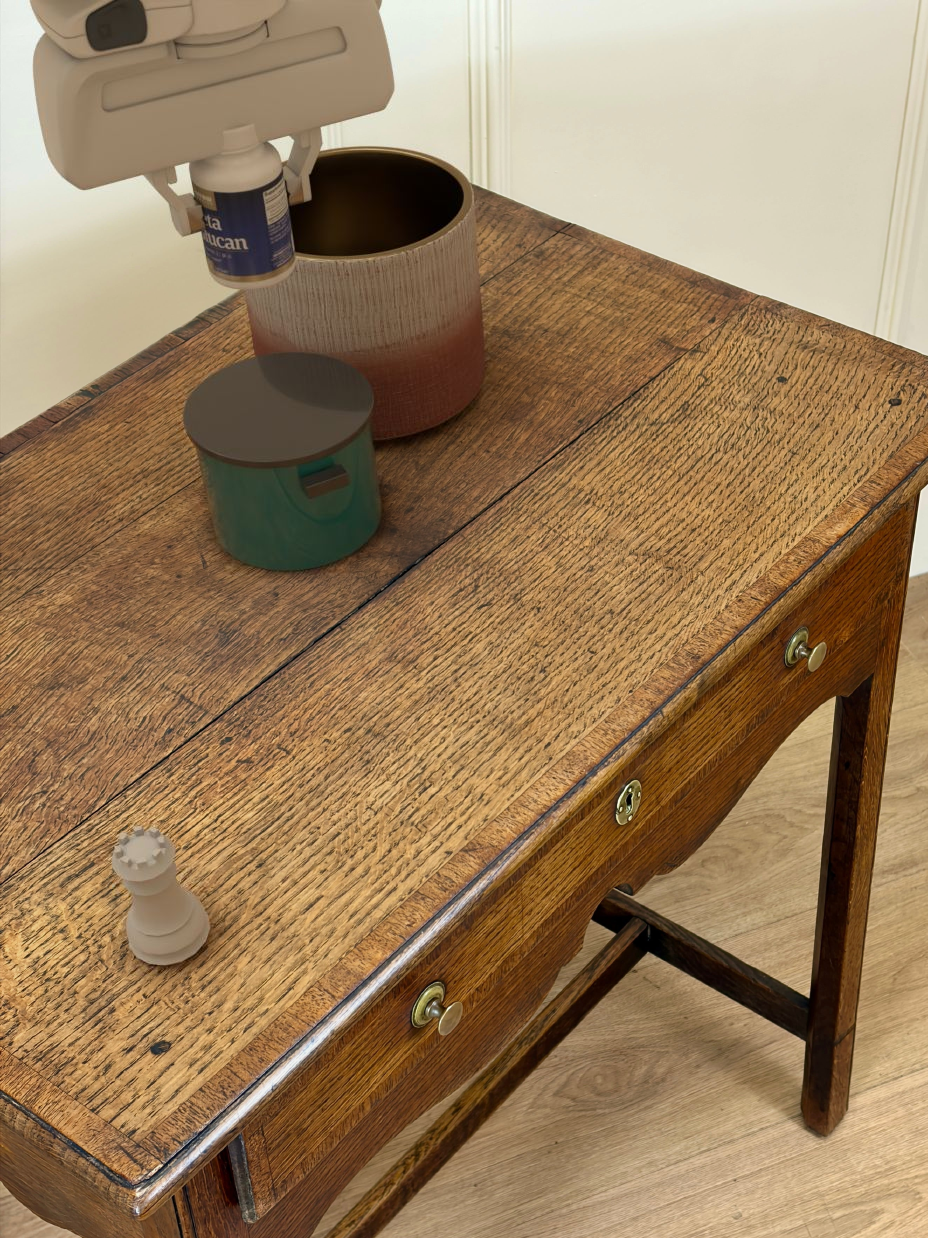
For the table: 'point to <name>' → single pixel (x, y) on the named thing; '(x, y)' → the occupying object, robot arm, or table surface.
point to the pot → (287, 459)
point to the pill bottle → (244, 212)
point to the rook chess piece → (158, 900)
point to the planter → (384, 284)
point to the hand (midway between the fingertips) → (242, 215)
